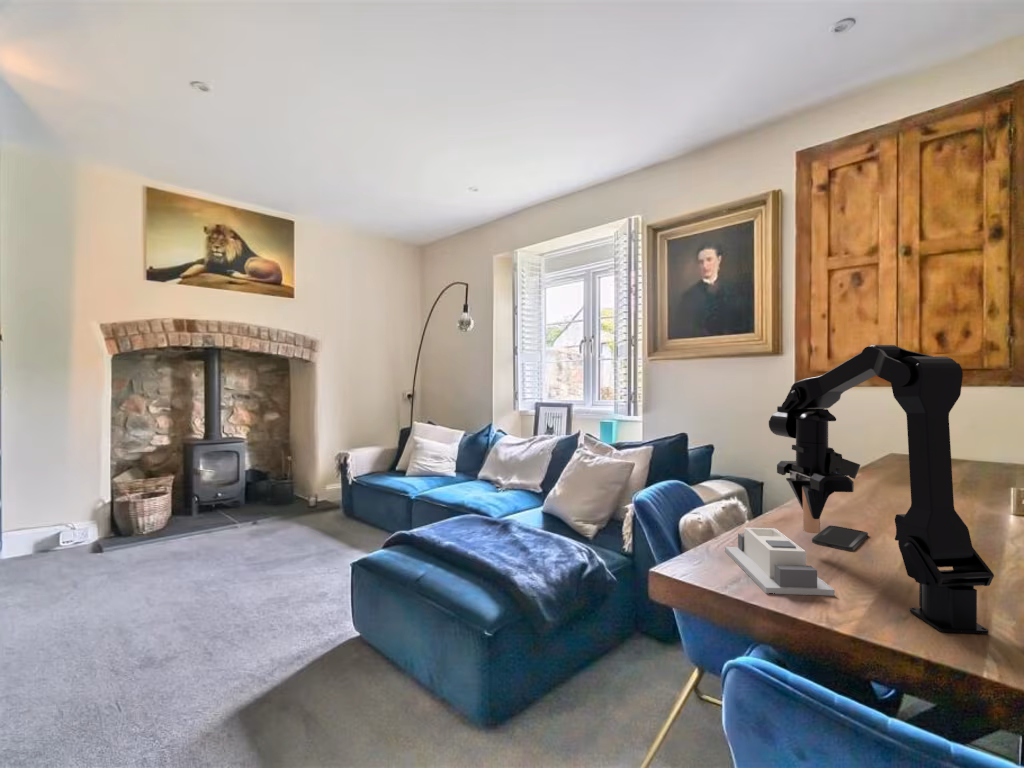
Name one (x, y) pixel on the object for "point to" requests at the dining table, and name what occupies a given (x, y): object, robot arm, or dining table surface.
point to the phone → (840, 538)
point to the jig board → (770, 581)
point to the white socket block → (771, 549)
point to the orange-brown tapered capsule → (809, 518)
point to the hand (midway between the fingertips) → (811, 516)
